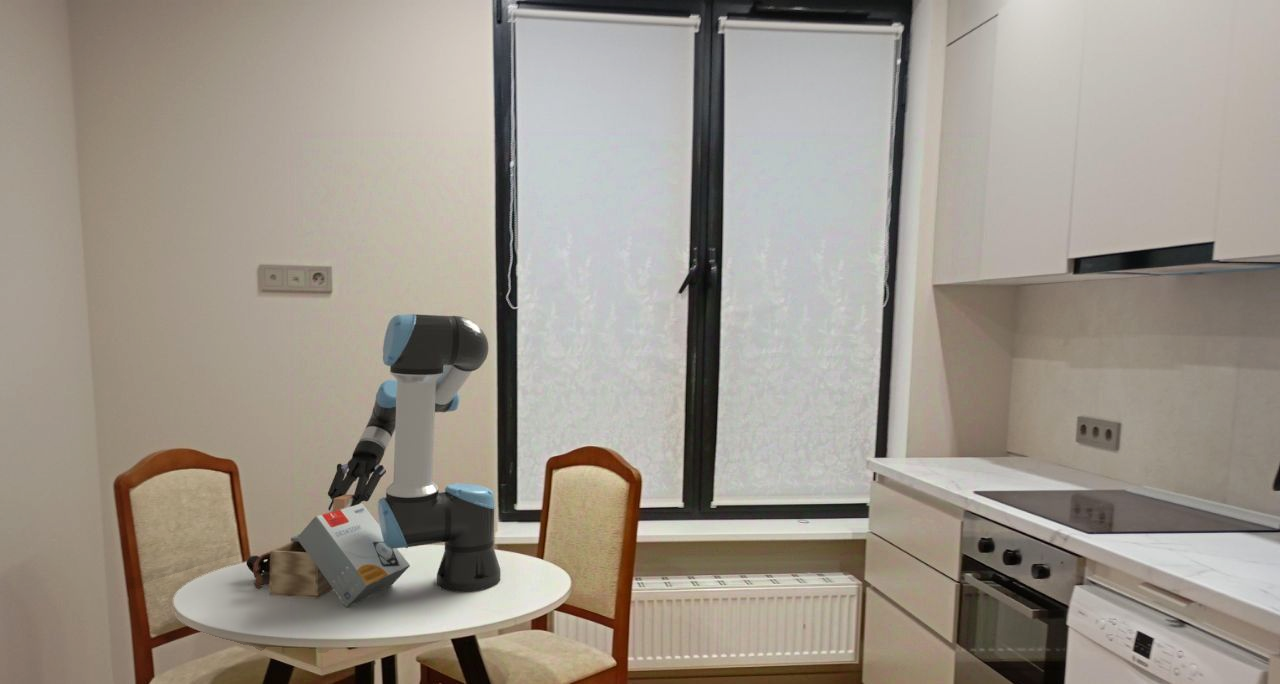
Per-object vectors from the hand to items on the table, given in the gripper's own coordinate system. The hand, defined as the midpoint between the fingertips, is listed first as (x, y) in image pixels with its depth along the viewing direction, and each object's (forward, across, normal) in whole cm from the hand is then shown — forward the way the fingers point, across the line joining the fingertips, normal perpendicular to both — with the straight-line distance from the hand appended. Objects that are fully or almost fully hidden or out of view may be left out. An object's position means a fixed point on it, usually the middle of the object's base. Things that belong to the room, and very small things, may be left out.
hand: (335, 523), depth 166 cm
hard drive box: (+16, -20, +2) cm, 26 cm away
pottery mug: (+15, +12, -4) cm, 19 cm away
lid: (+3, 0, -1) cm, 3 cm away
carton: (+15, 0, -3) cm, 15 cm away
